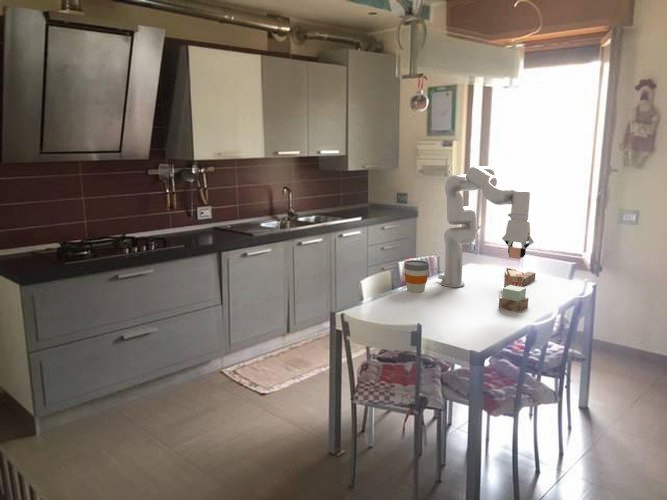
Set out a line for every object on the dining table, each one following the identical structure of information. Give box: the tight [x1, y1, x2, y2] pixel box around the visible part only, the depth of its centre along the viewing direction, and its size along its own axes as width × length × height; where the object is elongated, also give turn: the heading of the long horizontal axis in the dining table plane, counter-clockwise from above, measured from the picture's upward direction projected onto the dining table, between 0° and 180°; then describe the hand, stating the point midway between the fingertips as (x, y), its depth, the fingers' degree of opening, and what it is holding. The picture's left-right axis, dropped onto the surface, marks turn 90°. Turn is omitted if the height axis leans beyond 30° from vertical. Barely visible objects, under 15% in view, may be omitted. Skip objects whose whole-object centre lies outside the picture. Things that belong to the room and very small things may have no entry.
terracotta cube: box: [508, 244, 524, 260], centre depth 254 cm, size 5×5×5 cm
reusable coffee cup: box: [404, 259, 430, 294], centre depth 285 cm, size 13×13×15 cm
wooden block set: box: [505, 267, 536, 287], centre depth 308 cm, size 17×6×18 cm
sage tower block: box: [501, 285, 527, 302], centre depth 258 cm, size 8×8×5 cm
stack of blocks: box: [503, 270, 524, 288], centre depth 281 cm, size 21×6×12 cm, turn 170°
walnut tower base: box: [498, 296, 530, 313], centre depth 259 cm, size 10×10×5 cm
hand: (516, 255), depth 254 cm, fingers closed on terracotta cube, 5 cm apart
